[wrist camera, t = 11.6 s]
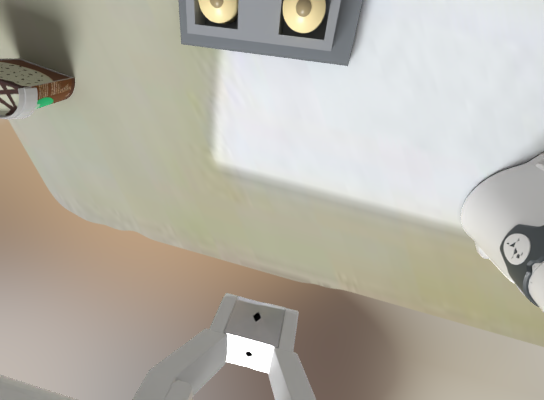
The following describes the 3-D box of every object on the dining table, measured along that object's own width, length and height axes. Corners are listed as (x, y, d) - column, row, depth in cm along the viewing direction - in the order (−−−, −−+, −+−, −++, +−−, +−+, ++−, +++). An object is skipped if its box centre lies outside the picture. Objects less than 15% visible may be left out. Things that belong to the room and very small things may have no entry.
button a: (329, -14, 28) (329, -18, 26) (321, 35, 30) (320, 35, 28) (288, -18, 29) (285, -23, 26) (283, 30, 31) (280, 30, 29)
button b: (242, -20, 31) (235, -25, 28) (240, 26, 33) (234, 25, 31) (206, -24, 31) (196, -28, 29) (206, 21, 33) (198, 20, 31)
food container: (20, 93, 46) (-50, 105, 38) (11, 55, 43) (-67, 58, 35) (86, 117, 46) (31, 134, 38) (83, 80, 43) (22, 90, 34)
